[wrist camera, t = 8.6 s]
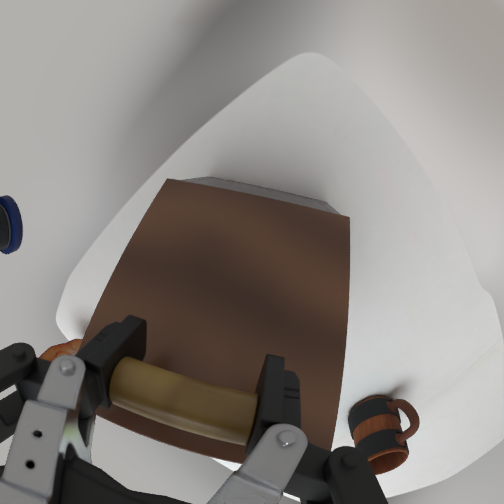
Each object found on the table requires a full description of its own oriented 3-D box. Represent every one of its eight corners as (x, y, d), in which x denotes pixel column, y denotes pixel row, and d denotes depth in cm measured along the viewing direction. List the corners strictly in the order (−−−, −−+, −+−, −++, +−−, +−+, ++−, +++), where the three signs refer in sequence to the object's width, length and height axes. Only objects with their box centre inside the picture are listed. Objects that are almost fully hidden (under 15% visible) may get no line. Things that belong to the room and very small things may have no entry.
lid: (321, 471, 11) (368, 488, 6) (68, 398, 11) (10, 376, 7) (346, 224, 20) (372, 169, 16) (168, 185, 21) (160, 127, 17)
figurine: (110, 360, 42) (65, 416, 28) (77, 336, 42) (27, 384, 28) (116, 338, 40) (65, 396, 26) (81, 313, 40) (24, 361, 26)
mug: (418, 388, 37) (440, 438, 26) (371, 429, 40) (381, 479, 29) (386, 373, 36) (406, 429, 25) (336, 418, 40) (343, 473, 29)
